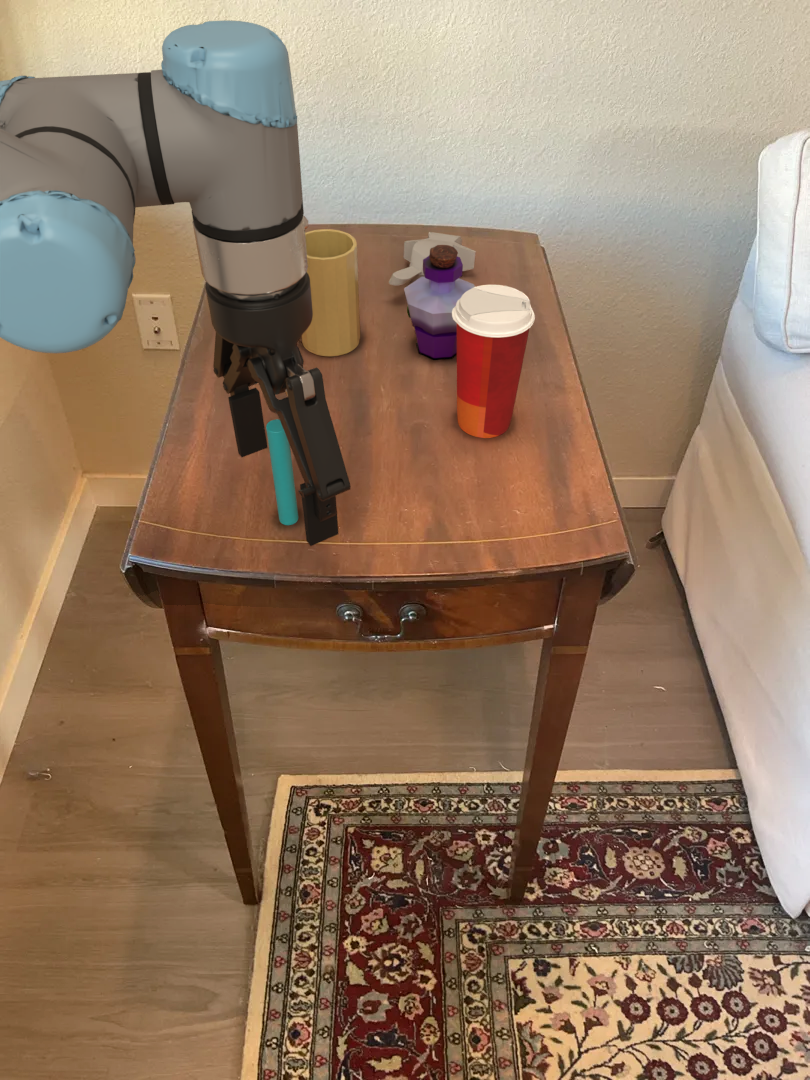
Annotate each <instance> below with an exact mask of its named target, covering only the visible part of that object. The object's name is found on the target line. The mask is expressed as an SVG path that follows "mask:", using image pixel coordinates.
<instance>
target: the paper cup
mask: <svg viewBox="0 0 810 1080" xmlns="http://www.w3.org/2000/svg"><path fill="white" fill-rule="evenodd" d="M452 317H453V320H454V321H455V322H456V323H457V356H456V415H457V416H456V417H457V418H456V419H457V424H458V427H459V428H460V429H461V430H462V431H463V432H464V433H466V434H467V435H469V436H472V437H475V438H480V439H490V438H496V437H499V436H502V435H503V434H505V433H506V432H507V431H508V430H509V428H510V426H511V422H512V417H513V415H514V414H513V413H514V409H515V404H516V399H517V394H518V389H519V385H520V384H519V383H520V378H521V375H522V368H523V365H524V359H525V353H526V348H527V345H528V344H527V343H528V338H529V334H530V329H531V327H532V326H533V325H534V323H535V319H536V315H535V312H534V310H533V308H532V305H531V300H530V298H529V297H528V295H526V294H525V293H524V292H523V291H521V290H519V289H518V288H515V287H511V286H508V285H502V284H482V285H477V286H475V287H474V288H472V289H470V290H468V291H467V292H465V293H464V294H463V295H462V297H461V298H460V299H459V300H458V301H457V303H456V306H455V307H454V308H453V310H452Z"/></svg>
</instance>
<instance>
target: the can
mask: <svg viewBox="0 0 810 1080" xmlns="http://www.w3.org/2000/svg"><path fill="white" fill-rule="evenodd" d="M305 236H306V249H307V262H308V268H307V273H308V275H309V277H310V287H311V299H312V311H313V317H312V321H311V324H310V326H309V327H308V329H307V330H306V331H305V332H304V333H303V334H302V336H301V337H300V338H301V344H302V346H303V347H304V349H305V350H306V351H308V352H309V353H310V354H311V353H312V354H314V355H317V356H321V357H340V356H343V355H346V354H348V353H349V354H350V353H351V352H352V351H354V350H355V349H357V347H358V346H359V344H360V342H361V327H360V326H361V321H360V320H361V319H360V318H361V317H360V293H359V292H360V291H359V267H358V266H359V263H358V262H359V261H358V243H357V240H356V237H354V236H353V235H351V234H350V233H348V232H345V231H343V230H339V229H330V228H322V229H321V228H320V229H314V230H313V229H312V230H309V231H307V232H306V231H305Z"/></svg>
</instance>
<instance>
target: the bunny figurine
mask: <svg viewBox="0 0 810 1080" xmlns="http://www.w3.org/2000/svg"><path fill="white" fill-rule="evenodd" d="M437 245H449V246H452V247H454V248H455V249H456V250H457V252H458V254H457V257H460V259H461V261H462V264H463V270H462V272H466V271H469V270H474V269H475V265H476V264H475V263H476V254H477V251H476V250H474V249H472V248H470V247H467V246H464V245H463V238H462V236H461V235H455V234H450V233H449V234H448V233H442V232H434V231H428V234H427V237H426V238H421V239H420V238H419V239H410V240H406V241H403V259H404V260H406V261H408V262H409V266H408V267H404V268H402V269H399V270H397V271H395V272H392V274H391V275H390V279H389V280H388V284H389V285H391V286H403V285H405V284H406V283H408V282H410V283H413V282H414V281H416V280H417V279H419V278H420V277H425V276H424V273H423V259H425V258H426V257H428V256H429V255H430V249H431V248H433V247H435V246H437Z"/></svg>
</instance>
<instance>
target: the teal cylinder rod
mask: <svg viewBox="0 0 810 1080" xmlns="http://www.w3.org/2000/svg"><path fill="white" fill-rule="evenodd" d="M265 432H266V439H267V446H268V450H269V457H270V465H271V472H272V479H273V486H274V494H275V500H276V507H277V514H278V515H277V516H278V521H279V522H280V523H281V524H282V525H284V526H292V525H295V524H296V523H297V522H298V521H299V509H298V502H297V500H298V499H297V493H296V483H295V475H294V467H293V460H292V459H293V457H292V449H291V447H290V444H289V442H288V439H287V437H286V434H285V432H284V429H283V427H282V424H281V421H280V419H279V418H276V419H271V420H270V421H268V422H267V423H266V425H265Z"/></svg>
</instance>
